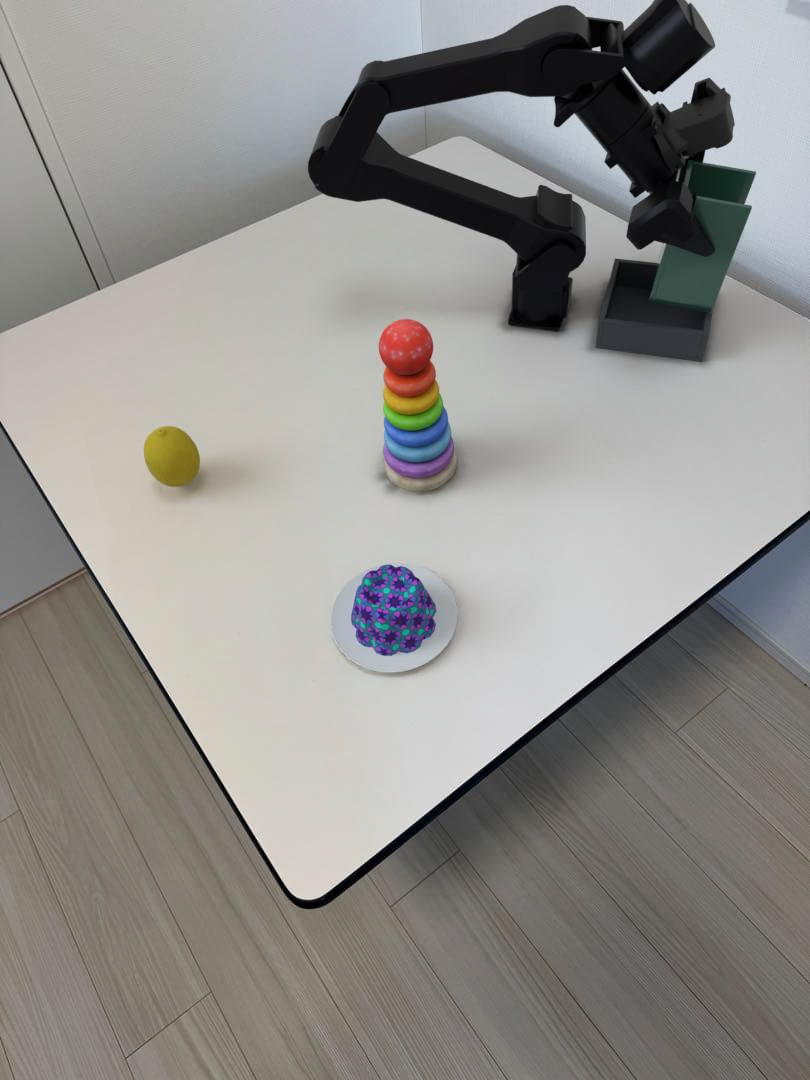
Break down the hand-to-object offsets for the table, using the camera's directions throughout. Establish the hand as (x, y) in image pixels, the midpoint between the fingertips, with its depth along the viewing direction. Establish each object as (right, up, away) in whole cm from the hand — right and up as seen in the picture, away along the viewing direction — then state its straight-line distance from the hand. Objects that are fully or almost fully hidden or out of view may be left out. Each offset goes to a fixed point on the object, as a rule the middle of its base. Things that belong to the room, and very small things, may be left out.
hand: (713, 234), depth 88 cm
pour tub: (-1, -4, +6) cm, 7 cm away
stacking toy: (-32, -25, 0) cm, 41 cm away
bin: (-3, -6, +11) cm, 13 cm away
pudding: (-34, -41, -11) cm, 54 cm away
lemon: (-58, -27, +2) cm, 64 cm away
